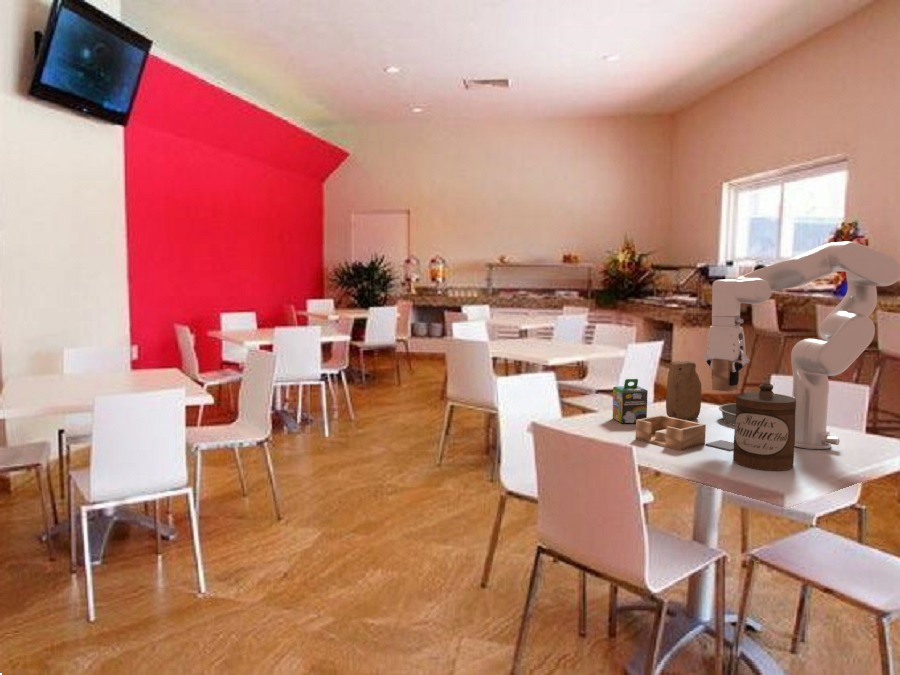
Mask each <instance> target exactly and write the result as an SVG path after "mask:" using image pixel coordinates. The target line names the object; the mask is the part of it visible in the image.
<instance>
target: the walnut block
mask: <svg viewBox="0 0 900 675" xmlns="http://www.w3.org/2000/svg"><path fill="white" fill-rule="evenodd" d="M730 372H732V370H731V366H730V361H728V360H718V359H712V370H711V380H712V381H711V389H712V390H715V391H720V392H726V393H727V392H733V391H737V390H738V386H739V385H738V384H739V383H738V384H737V385H733V386H731V385H730Z"/></svg>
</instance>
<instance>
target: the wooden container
mask: <svg viewBox="0 0 900 675" xmlns="http://www.w3.org/2000/svg"><path fill="white" fill-rule="evenodd" d="M758 388H759V391H758V392H741V393H738V394H736V396H735V397H736V398H735V403H736V420H735V425H734V431H733V432H734V433H733V434H734V435H733V443H734V450H732V451H733V454H732V459H733V462H734V463H736V464H738V465H740V466H743V467H745V468H750V469H753V470H754V469H755V470H760V471H771V472H773V471H774V472H775V471H776V472H779V471H787V470H790V469H792V468H794V461H795V460H794V458H795V448H796V447H795V410H796V399H795V398H793V397H792V396H790V395H785V394H781V393H780V394H779V393H774V391H773V390H774V385H773V384H771V383H770V382H762V383H760V384H759V386H758Z"/></svg>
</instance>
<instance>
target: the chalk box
mask: <svg viewBox="0 0 900 675" xmlns="http://www.w3.org/2000/svg"><path fill="white" fill-rule="evenodd" d="M638 382H639V379H638V378H626V379H625V380H624V384H623V385H621V386H619V385H618V386H613V387H612V419H613V418H614V420H615V419H616V420H615V421H616V422H618V421H619V422H618V423H619V424H621V423H636V420H638V419H643V418H648V391H649V390H647V389H645V388H643V387H641V386H639V385H638ZM629 383H633V384H632V385H629Z"/></svg>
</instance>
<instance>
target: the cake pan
mask: <svg viewBox="0 0 900 675" xmlns="http://www.w3.org/2000/svg"><path fill="white" fill-rule="evenodd" d="M718 410H719V411H720V412H721V415H722V418H723V421H724V422H725V423H727V422H728V423H727V424H729V423H731V424H730V425H733V424H734V425H733V426H735V420H736V402H734V403H724V404H722V405H718Z"/></svg>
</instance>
